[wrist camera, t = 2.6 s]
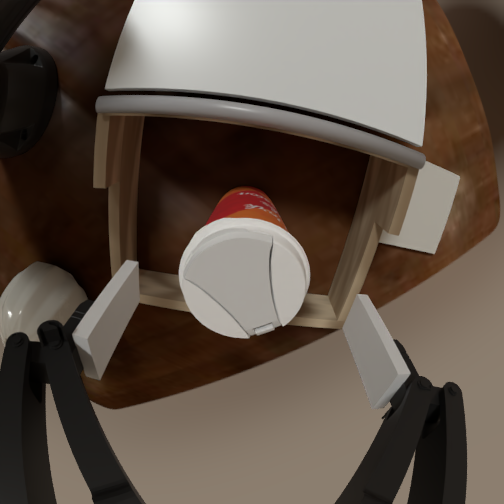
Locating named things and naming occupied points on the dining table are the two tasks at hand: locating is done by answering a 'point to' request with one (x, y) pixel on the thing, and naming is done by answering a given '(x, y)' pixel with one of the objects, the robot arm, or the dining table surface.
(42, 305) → the vase
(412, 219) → the stone tile
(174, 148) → the dining table surface
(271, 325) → the coffee cup
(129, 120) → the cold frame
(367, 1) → the lid
